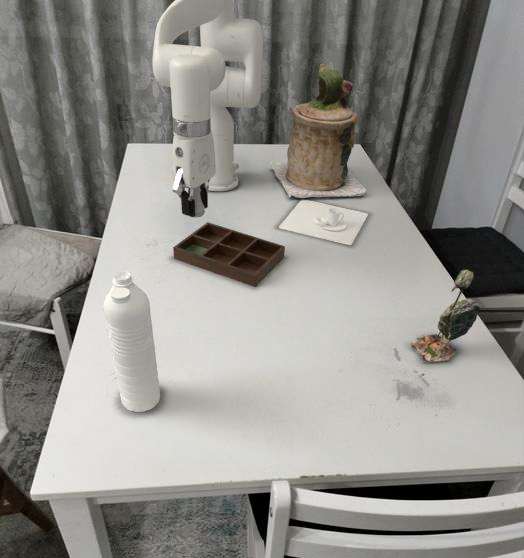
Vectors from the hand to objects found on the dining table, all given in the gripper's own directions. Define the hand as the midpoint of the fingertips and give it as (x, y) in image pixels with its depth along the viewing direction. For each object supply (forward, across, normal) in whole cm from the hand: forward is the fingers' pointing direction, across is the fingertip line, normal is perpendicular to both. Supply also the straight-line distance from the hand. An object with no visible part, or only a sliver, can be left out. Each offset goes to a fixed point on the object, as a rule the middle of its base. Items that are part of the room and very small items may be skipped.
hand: (195, 210), depth 112 cm
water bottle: (+12, -44, -18) cm, 49 cm away
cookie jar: (+12, +56, -7) cm, 58 cm away
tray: (+12, +4, -7) cm, 14 cm away
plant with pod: (+12, -3, -59) cm, 60 cm away
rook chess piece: (+1, 0, 0) cm, 1 cm away
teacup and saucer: (+12, +34, -19) cm, 41 cm away
